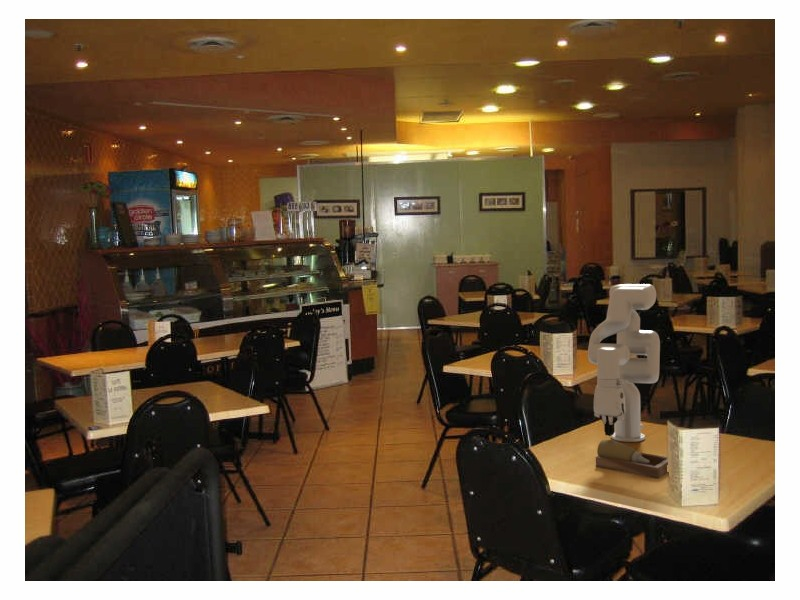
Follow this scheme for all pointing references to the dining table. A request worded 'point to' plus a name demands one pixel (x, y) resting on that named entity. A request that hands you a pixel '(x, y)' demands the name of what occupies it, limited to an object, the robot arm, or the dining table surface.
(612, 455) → the squeeze bottle
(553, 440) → the dining table surface
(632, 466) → the brown wooden tray
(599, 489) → the dining table surface
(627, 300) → the robot arm
